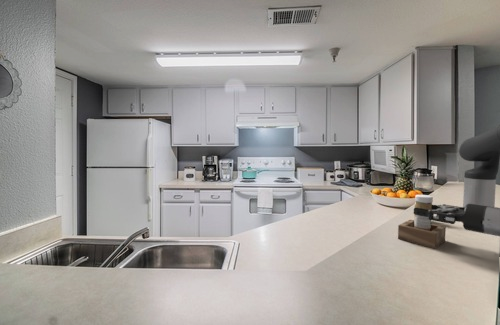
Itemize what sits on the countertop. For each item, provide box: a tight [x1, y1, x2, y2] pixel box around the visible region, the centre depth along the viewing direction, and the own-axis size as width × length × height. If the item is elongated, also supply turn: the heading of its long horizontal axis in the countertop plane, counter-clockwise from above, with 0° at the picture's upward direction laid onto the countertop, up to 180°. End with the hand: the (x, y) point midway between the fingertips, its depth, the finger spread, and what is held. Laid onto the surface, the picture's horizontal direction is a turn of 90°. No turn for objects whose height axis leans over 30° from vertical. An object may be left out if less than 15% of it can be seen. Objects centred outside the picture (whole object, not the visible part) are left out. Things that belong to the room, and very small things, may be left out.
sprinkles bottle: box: [413, 194, 434, 231], centre depth 78 cm, size 5×5×13 cm
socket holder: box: [397, 219, 446, 249], centre depth 79 cm, size 10×10×4 cm
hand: (419, 208), depth 79 cm, fingers open, 8 cm apart
